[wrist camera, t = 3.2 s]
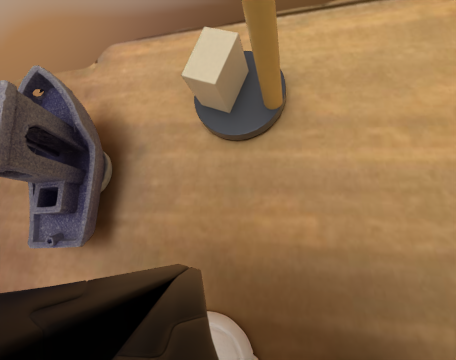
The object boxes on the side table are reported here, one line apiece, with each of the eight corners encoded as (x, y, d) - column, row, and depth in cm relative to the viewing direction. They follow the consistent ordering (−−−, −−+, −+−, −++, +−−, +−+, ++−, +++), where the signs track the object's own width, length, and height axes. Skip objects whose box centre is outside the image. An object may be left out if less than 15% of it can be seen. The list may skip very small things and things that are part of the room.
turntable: (264, 152, 22) (219, 19, 8) (185, 125, 24) (54, -9, 11) (299, 69, 23) (309, -171, 9) (219, 52, 25) (136, -155, 12)
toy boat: (122, 245, 24) (-65, 255, 11) (56, 246, 25) (-166, 256, 13) (132, 103, 27) (-3, -8, 15) (73, 114, 29) (-91, 23, 17)
